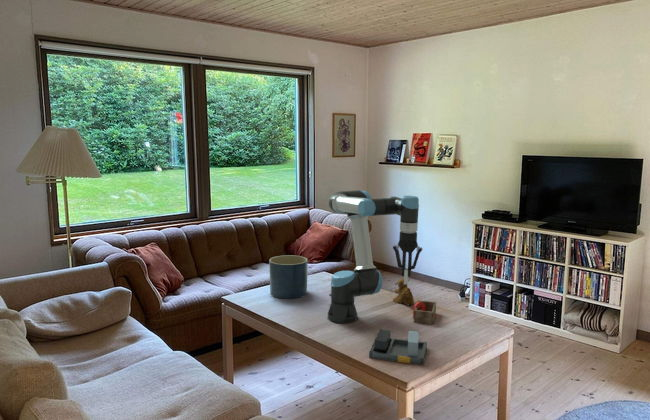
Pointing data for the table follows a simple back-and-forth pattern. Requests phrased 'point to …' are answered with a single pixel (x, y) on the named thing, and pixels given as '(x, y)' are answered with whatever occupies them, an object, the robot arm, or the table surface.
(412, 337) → the pale blue upright block
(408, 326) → the table surface
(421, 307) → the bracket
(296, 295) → the planter
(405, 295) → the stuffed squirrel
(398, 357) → the grey flat rectangular tray
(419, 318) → the open wooden box
